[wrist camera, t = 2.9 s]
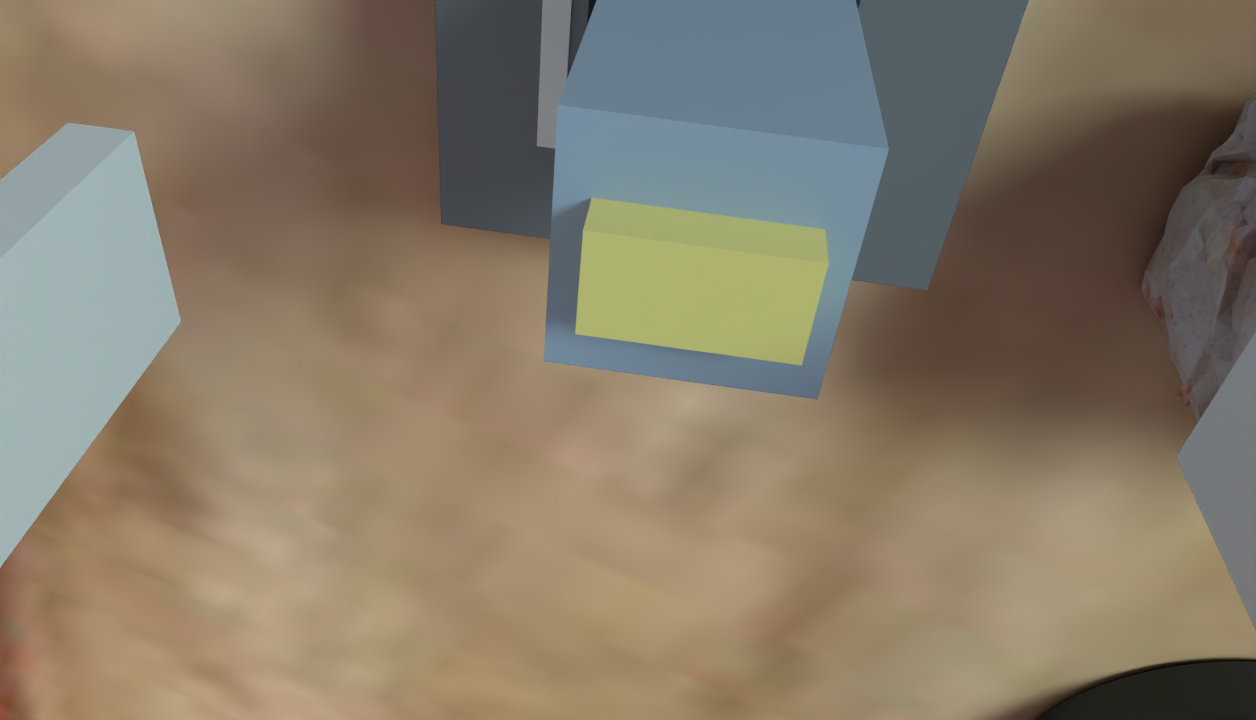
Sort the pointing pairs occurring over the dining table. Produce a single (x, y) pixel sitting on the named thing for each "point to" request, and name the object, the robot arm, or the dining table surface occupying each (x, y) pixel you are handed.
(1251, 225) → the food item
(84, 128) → the robot arm
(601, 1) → the plug
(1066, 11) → the dining table surface
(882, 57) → the panel
